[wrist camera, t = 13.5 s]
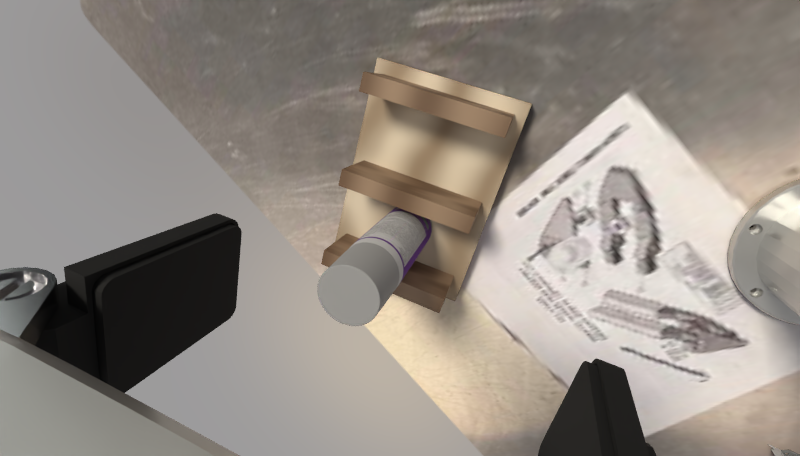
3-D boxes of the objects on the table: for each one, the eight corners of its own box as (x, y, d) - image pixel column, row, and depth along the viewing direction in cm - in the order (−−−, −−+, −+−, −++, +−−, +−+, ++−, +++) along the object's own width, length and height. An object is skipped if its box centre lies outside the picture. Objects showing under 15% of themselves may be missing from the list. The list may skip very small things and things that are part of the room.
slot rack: (531, 103, 34) (531, 106, 28) (457, 294, 42) (445, 327, 36) (383, 58, 37) (355, 52, 31) (339, 246, 44) (309, 270, 39)
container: (406, 256, 41) (345, 338, 27) (378, 220, 40) (302, 285, 27) (442, 232, 39) (396, 308, 25) (413, 194, 38) (350, 249, 25)
